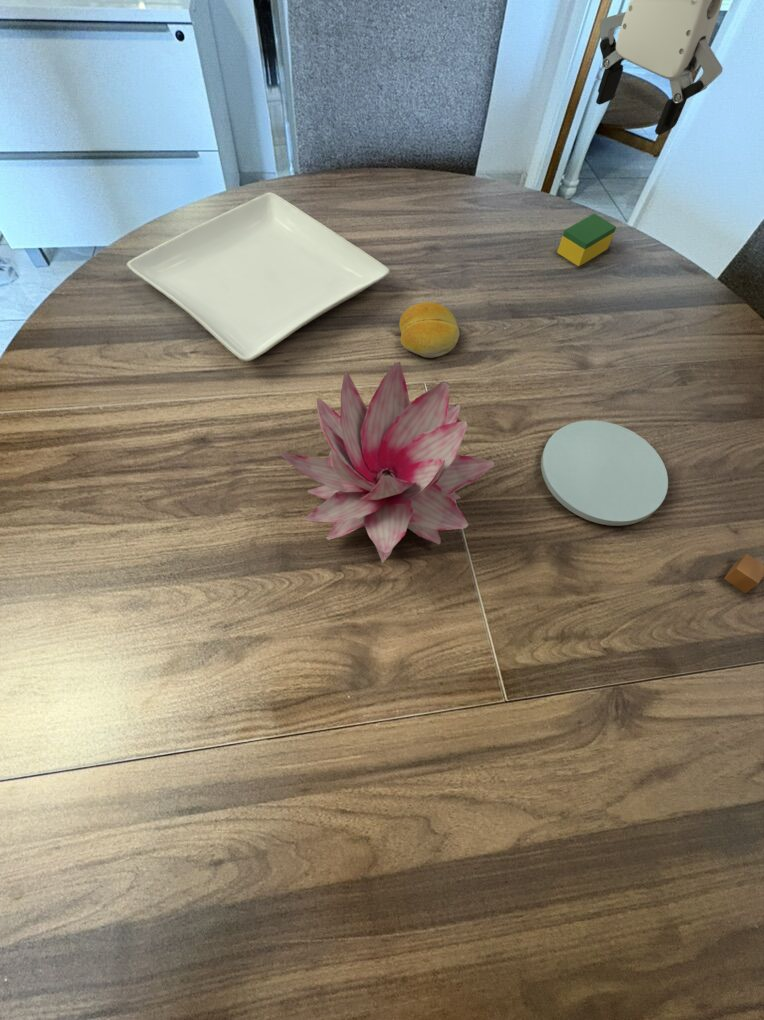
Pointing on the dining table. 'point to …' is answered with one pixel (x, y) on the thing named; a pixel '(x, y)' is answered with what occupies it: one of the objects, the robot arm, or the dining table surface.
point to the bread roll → (428, 330)
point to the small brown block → (745, 573)
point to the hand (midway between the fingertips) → (632, 116)
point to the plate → (604, 473)
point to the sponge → (586, 239)
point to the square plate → (257, 273)
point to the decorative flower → (391, 463)
